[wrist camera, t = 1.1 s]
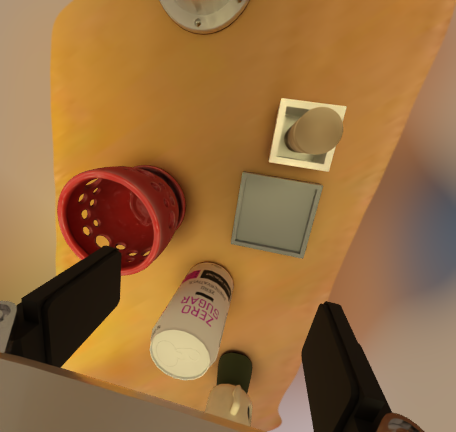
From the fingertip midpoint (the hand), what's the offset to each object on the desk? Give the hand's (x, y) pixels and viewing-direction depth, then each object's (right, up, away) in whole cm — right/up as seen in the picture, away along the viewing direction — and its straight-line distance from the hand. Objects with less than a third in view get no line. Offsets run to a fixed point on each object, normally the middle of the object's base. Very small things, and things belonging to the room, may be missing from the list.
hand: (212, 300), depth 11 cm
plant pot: (-11, +6, +27) cm, 30 cm away
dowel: (+10, +14, +20) cm, 27 cm away
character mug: (+2, -24, +33) cm, 41 cm away
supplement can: (-2, -8, +29) cm, 31 cm away
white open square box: (+10, +14, +21) cm, 27 cm away
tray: (+8, +4, +24) cm, 26 cm away
